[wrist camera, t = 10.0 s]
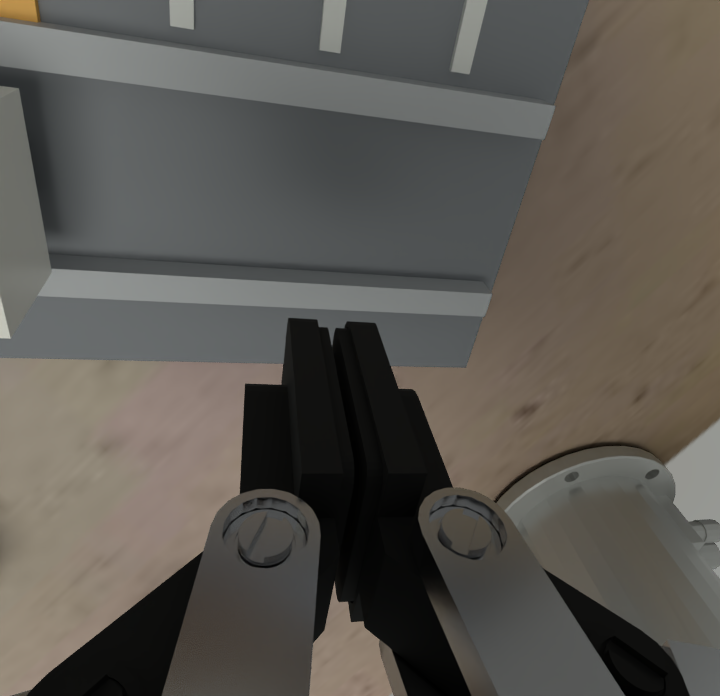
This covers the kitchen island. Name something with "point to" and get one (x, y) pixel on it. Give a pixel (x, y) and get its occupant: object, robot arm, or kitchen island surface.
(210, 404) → the kitchen island surface
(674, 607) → the robot arm
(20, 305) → the fader knob
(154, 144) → the fader panel
